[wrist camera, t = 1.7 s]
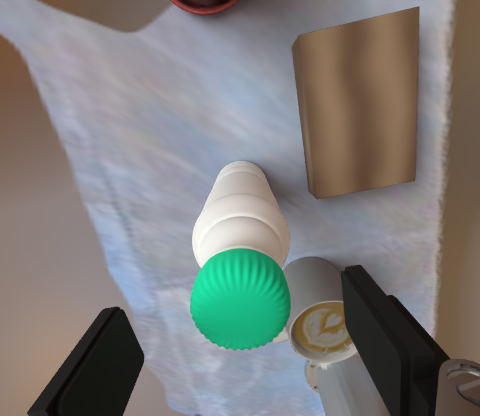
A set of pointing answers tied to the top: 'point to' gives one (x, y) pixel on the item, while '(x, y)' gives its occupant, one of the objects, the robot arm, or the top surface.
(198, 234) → the water bottle
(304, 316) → the coffee mug
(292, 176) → the top surface
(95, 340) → the robot arm
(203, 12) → the plant pot
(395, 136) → the walnut stand
